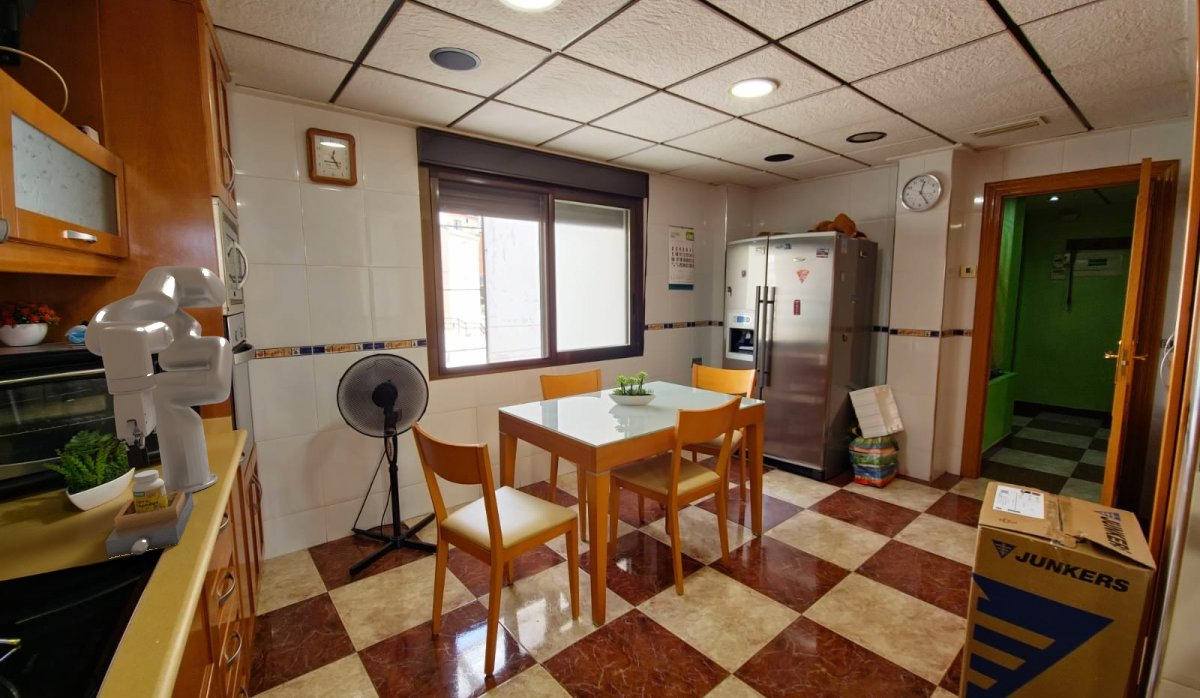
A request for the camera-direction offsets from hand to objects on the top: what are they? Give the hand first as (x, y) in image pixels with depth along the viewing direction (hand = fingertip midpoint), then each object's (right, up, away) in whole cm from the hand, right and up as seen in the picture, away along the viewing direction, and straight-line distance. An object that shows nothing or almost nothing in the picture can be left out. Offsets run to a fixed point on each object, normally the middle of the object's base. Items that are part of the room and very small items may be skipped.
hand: (145, 458), depth 111 cm
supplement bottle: (0, -13, +2) cm, 13 cm away
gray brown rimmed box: (+1, -17, +1) cm, 17 cm away
